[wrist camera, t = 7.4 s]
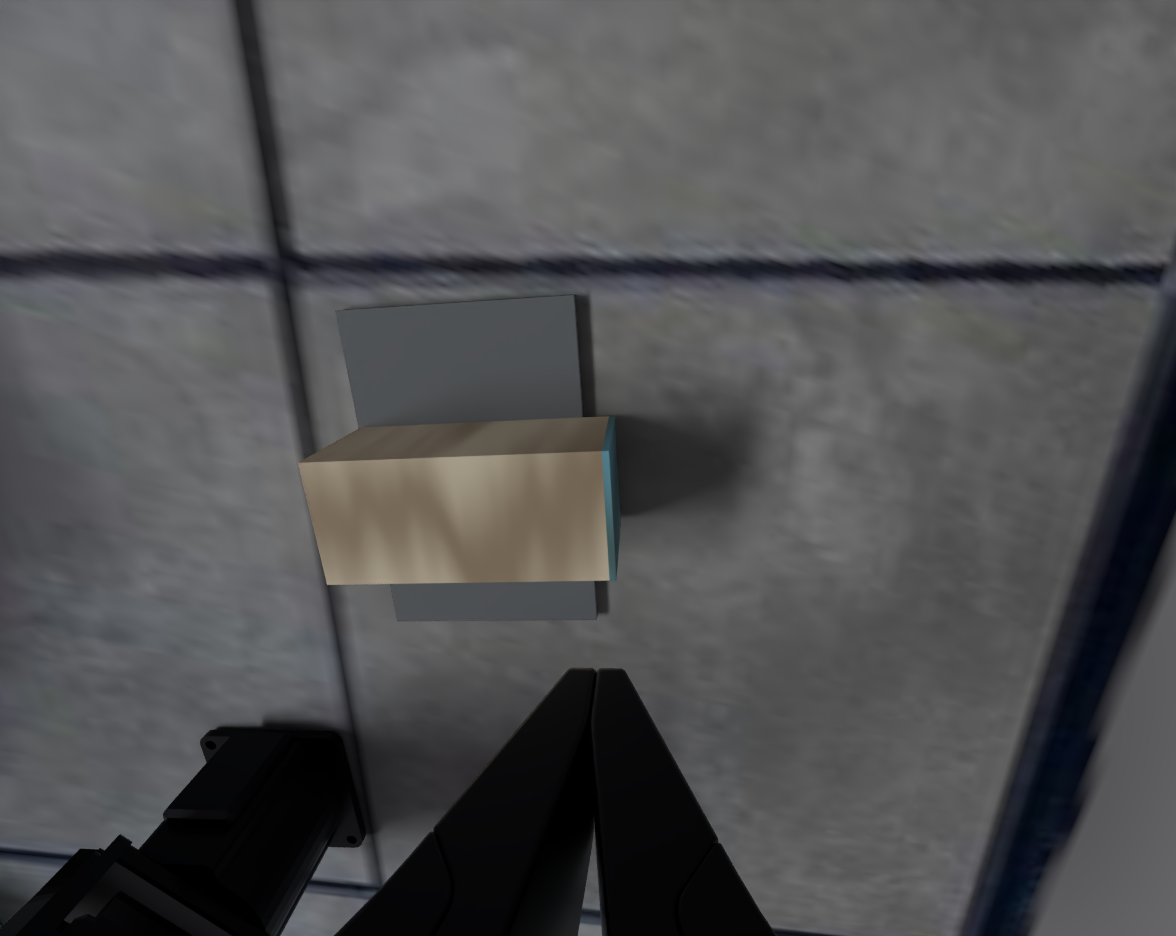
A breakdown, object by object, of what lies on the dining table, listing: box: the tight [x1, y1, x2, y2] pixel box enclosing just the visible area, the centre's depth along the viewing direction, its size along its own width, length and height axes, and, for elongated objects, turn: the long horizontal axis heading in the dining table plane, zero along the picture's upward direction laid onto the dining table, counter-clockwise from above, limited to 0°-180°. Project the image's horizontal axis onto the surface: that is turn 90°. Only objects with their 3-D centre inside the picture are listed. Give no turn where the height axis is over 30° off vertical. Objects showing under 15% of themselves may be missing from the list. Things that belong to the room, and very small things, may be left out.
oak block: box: [298, 416, 621, 585], centre depth 19 cm, size 4×4×9 cm
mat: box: [335, 295, 598, 621], centre depth 21 cm, size 12×8×1 cm, turn 4°
